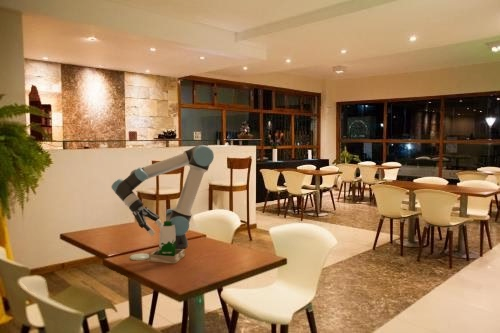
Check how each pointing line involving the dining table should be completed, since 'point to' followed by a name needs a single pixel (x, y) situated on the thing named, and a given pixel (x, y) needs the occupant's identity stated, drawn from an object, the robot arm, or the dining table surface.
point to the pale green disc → (139, 257)
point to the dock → (166, 259)
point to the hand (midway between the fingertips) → (159, 231)
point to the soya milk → (167, 239)
